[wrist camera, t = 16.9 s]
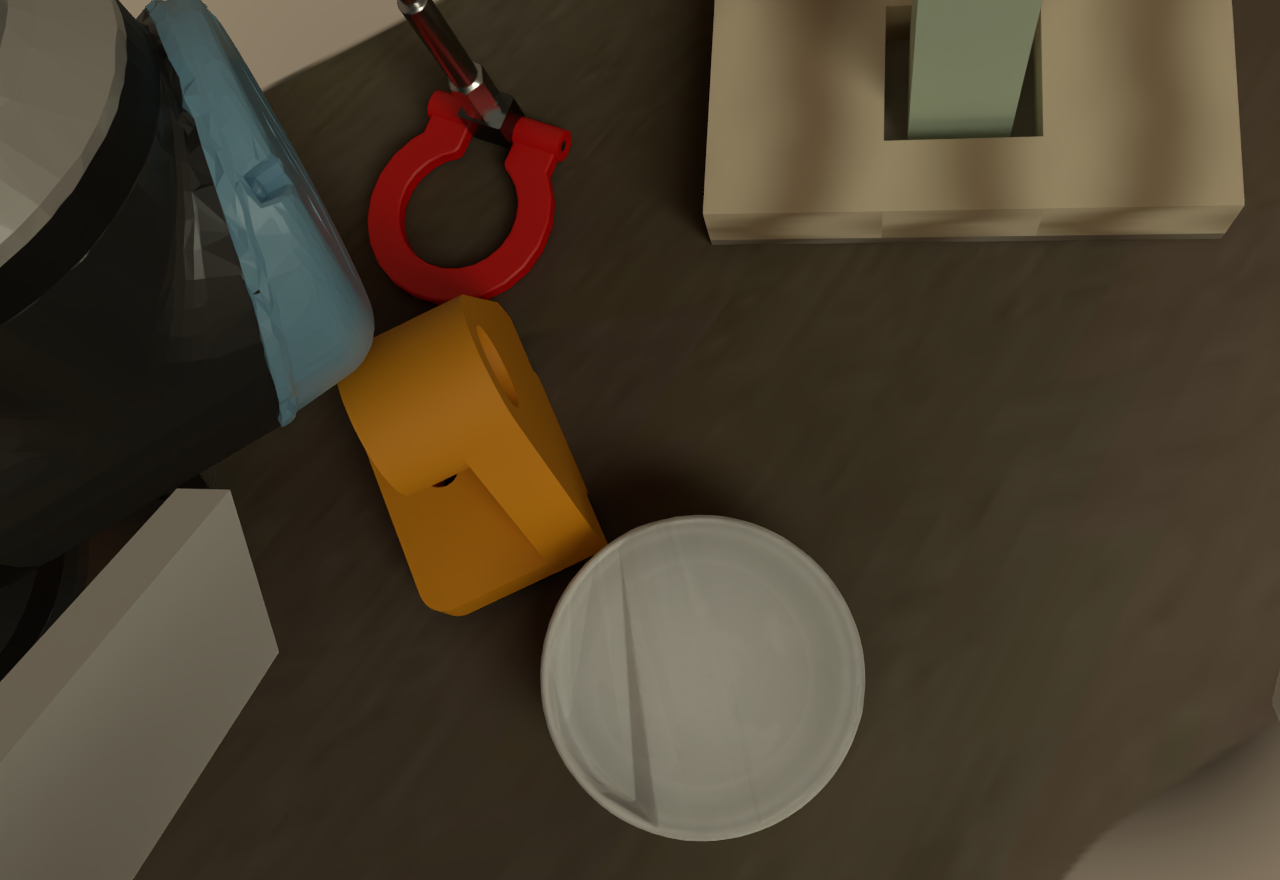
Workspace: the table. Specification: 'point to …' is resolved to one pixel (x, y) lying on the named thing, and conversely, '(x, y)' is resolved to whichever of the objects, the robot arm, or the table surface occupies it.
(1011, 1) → the peg
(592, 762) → the ramekin
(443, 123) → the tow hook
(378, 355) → the bracket
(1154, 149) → the block with square hole
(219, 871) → the table surface
